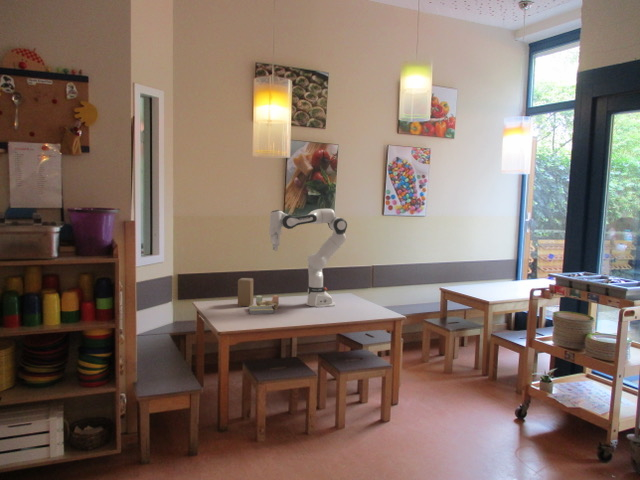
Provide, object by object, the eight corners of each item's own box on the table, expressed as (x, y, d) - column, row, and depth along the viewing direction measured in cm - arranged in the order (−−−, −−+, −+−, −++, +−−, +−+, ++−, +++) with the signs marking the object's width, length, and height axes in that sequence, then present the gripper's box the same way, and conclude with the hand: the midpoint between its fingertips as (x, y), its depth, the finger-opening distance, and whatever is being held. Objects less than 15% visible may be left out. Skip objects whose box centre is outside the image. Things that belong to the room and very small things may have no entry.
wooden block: (253, 303, 375) (253, 278, 373) (250, 306, 365) (250, 280, 363) (240, 303, 376) (240, 277, 374) (237, 306, 366) (237, 279, 364)
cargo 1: (261, 300, 363) (261, 295, 363) (262, 302, 359) (262, 296, 359) (256, 301, 362) (256, 295, 362) (256, 302, 358) (256, 296, 358)
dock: (270, 309, 358) (270, 305, 358) (273, 313, 346) (273, 309, 346) (248, 310, 354) (248, 305, 354) (250, 314, 343) (250, 309, 342)
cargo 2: (277, 300, 366) (277, 295, 365) (278, 301, 362) (278, 296, 361) (272, 300, 365) (272, 295, 364) (273, 301, 361) (273, 296, 360)
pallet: (277, 306, 367) (277, 300, 366) (278, 308, 362) (278, 301, 361) (256, 307, 363) (256, 300, 363) (256, 309, 358) (256, 302, 357)
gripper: (281, 233, 354) (281, 252, 355) (277, 230, 374) (277, 248, 375) (273, 232, 353) (272, 252, 354) (269, 230, 372) (269, 248, 374)
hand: (275, 250), depth 365 cm, fingers open, 8 cm apart
